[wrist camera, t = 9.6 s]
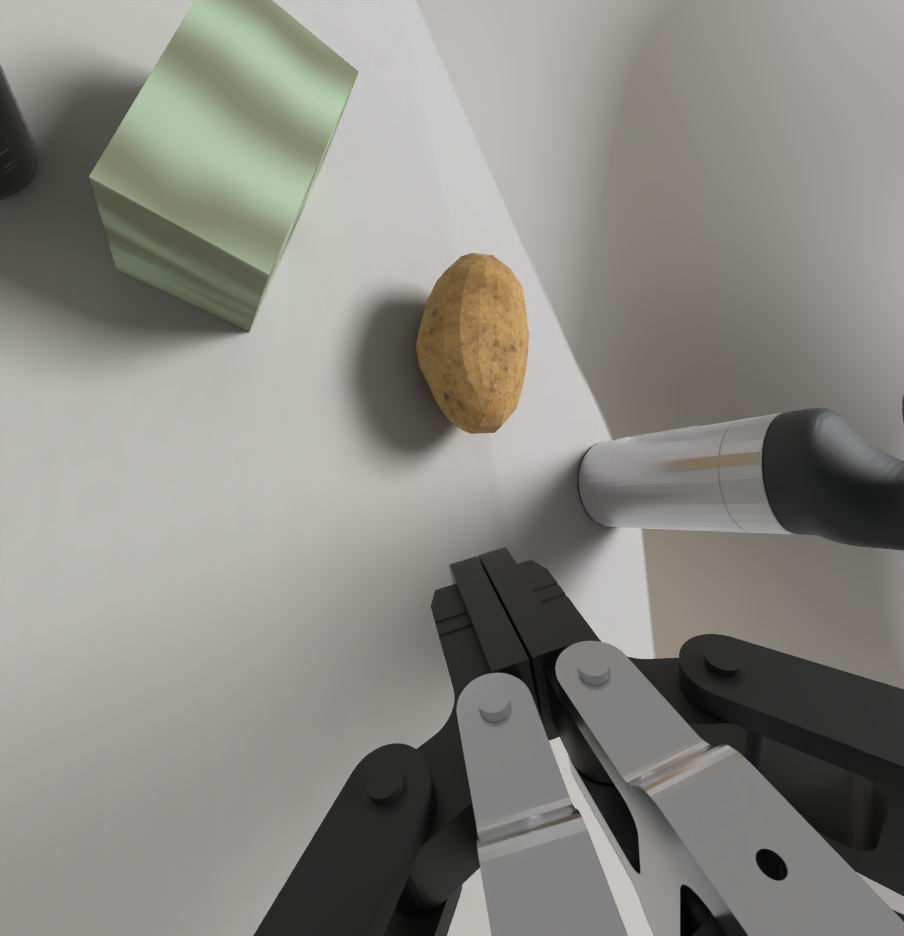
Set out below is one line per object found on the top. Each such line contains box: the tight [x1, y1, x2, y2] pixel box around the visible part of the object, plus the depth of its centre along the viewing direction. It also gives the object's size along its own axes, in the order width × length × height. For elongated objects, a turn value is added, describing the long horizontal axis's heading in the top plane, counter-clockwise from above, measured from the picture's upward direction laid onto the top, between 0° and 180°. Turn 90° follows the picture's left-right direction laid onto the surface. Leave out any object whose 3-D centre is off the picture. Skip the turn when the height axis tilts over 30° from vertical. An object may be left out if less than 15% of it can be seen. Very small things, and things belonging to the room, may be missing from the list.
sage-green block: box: [89, 0, 358, 332], centre depth 27 cm, size 15×8×9 cm, turn 162°
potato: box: [416, 253, 529, 434], centre depth 36 cm, size 10×14×8 cm
